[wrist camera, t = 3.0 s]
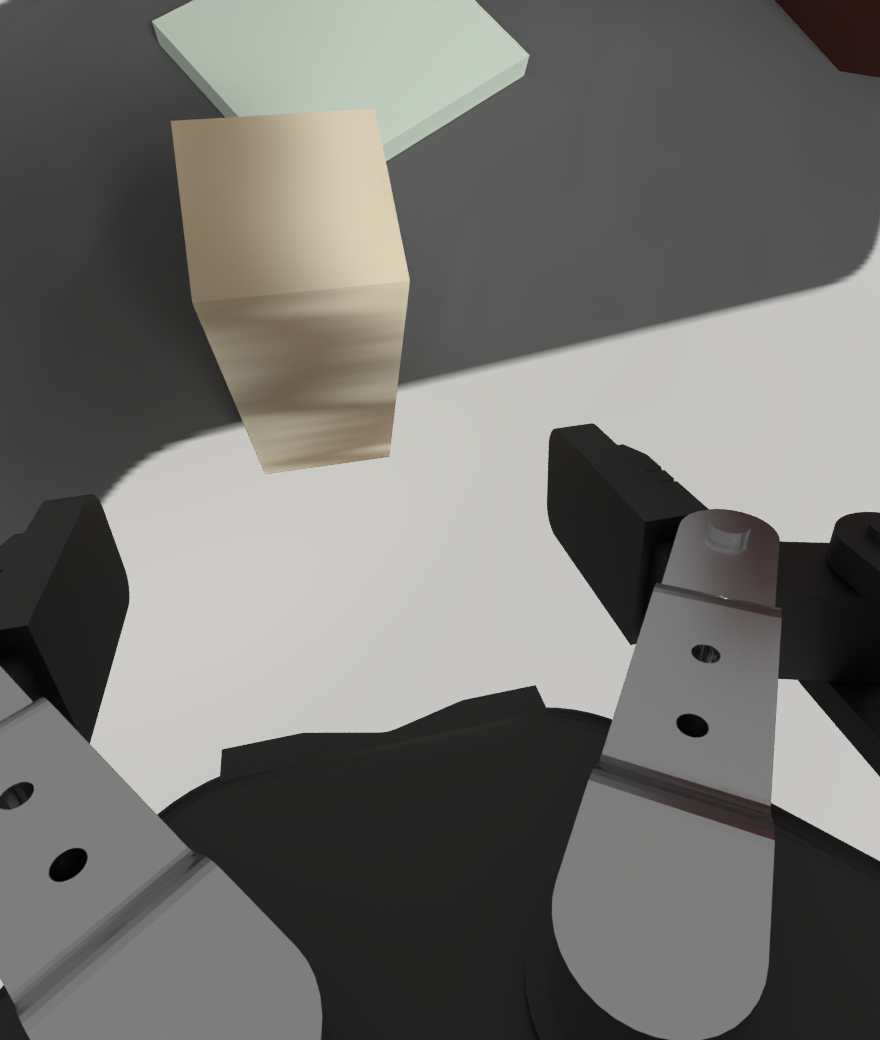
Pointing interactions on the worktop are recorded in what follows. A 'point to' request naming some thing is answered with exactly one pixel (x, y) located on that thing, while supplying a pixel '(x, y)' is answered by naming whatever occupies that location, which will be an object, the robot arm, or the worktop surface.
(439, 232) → the worktop surface
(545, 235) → the worktop surface
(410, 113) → the sage board
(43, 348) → the worktop surface
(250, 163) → the maple block
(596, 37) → the worktop surface
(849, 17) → the bucket
